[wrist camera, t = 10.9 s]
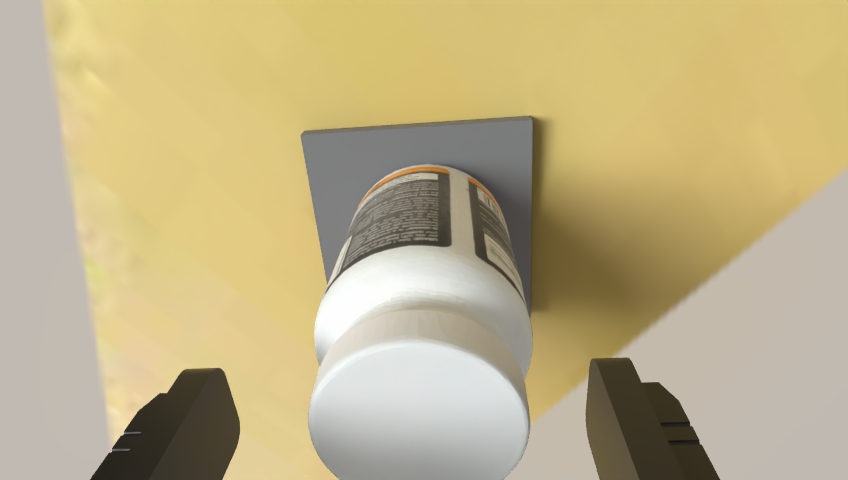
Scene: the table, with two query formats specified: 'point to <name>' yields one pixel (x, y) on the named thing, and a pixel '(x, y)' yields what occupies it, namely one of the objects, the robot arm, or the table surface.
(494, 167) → the coaster
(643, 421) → the robot arm
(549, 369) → the table surface
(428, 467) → the pill bottle
